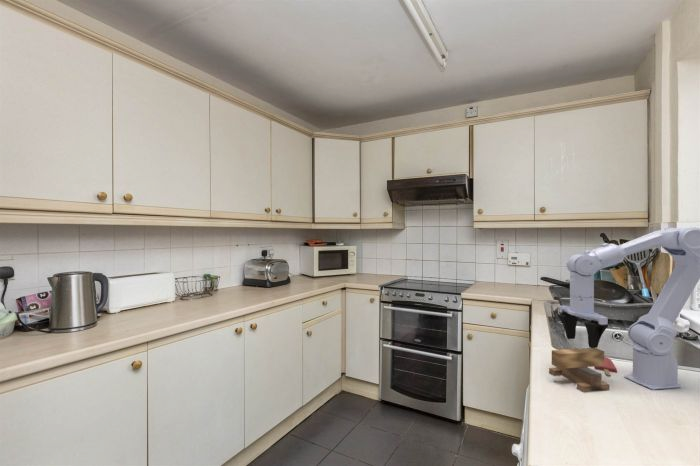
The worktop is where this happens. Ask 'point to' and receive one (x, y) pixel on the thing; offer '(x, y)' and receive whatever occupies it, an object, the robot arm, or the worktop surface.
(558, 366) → the oak bar
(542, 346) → the worktop surface
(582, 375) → the ridge
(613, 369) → the popsicle
